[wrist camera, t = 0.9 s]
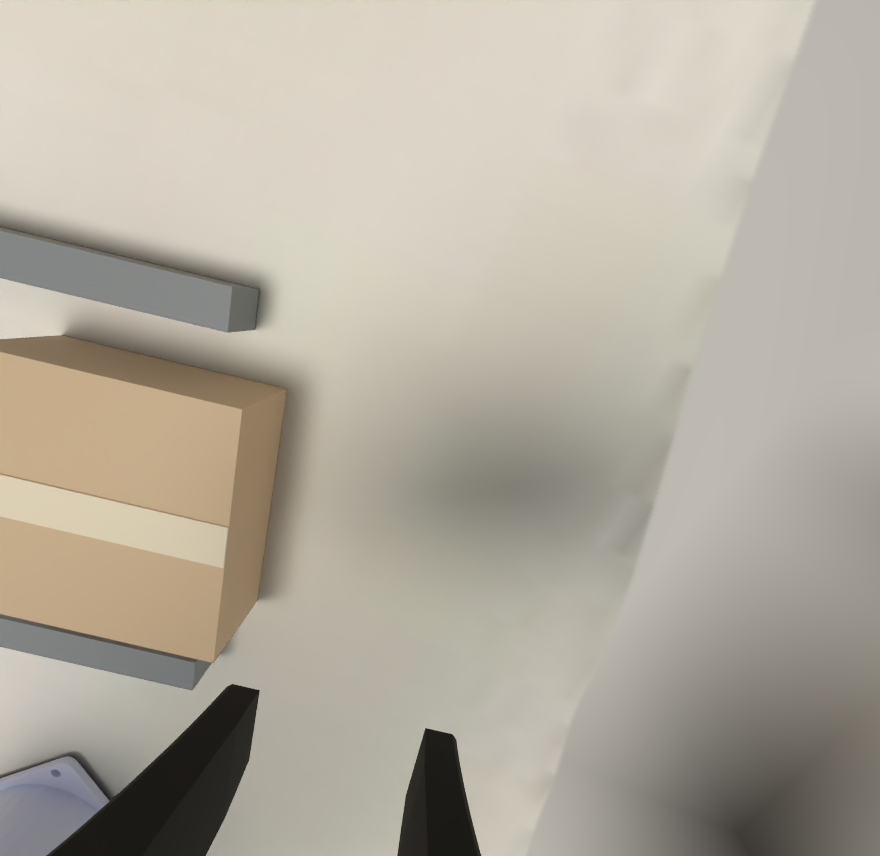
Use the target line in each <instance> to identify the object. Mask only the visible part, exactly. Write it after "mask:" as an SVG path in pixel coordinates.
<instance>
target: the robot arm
mask: <svg viewBox="0 0 880 856" xmlns="http://www.w3.org/2000/svg"><path fill="white" fill-rule="evenodd" d="M259 691H260V690H256V689H251V688H247V687H243V686H238V685H234V684H232V685H230V686H228V687H226V688H225V689H224V691H223V692H222V693H221V694H220V695H219V696H218V697H217V698H216V699H215V700H214V701H213V702H212V704H211V705H210V706H209V707H208V708H207V709H206V710H205V711H204V712H203V713H202V714H201V715H200V716H199V717H198V718H197V719H196V720H195V721H194V722H193V723H192V724H191V725H190V726H189V727H188V728H187V729H186V730H185V731H184V732H183V733H182V734H181V735H180V736H179V737H178V738H177V739H176V740H175V741H174V742H173V743H172V744H171V745H170V746H169V747H168V748H167V749H166V750H165V751H164V752H163V753H162V754H161V755H159V756H158V757H157V758H156V759H155V760H154V761H153V762H152V763H151V764H150V765H149V766H148V767H147V768H146V769H145V770H144V771H143V772H141V773H140V774H139V775H138V776H137V777H136V778H135V779H134V780H133V781H132V782H131V783H130V784H129V785H128V786H126V787H125V788H124V789H123V790H122V791H121V792H120V793H119V794H117V795H116V796H115V797H114V798H113V799H112V800H111V801H109V800H108V798H107V797H106V796H105V795H104V793H103V792H102V791H101V790H100V789H99V787H98V786H97V785H96V784H95V782H94V781H93V780H92V779H91V777H90V776H89V775H88V774H87V773H86V771H85V770H84V769H83V768H82V766H81V765H80V764H79V763H78V761H77V760H75V759H74V758H72V757H68V756H67V757H62V758H59V759H56V760H53V761H50V762H48V763H45V764H42V765H39V766H36V767H33V768H30V769H27V770H24V771H21V772H18V773H15V774H12V775H9V776H6V777H3V778H0V856H206V854H207V852H208V850H209V848H210V846H211V844H212V842H213V840H214V838H215V836H216V834H217V832H218V830H219V828H220V826H221V824H222V822H223V820H224V818H225V816H226V814H227V811H228V809H229V807H230V804H231V802H232V800H233V797H234V795H235V793H236V790H237V788H238V785H239V783H240V780H241V778H242V776H243V773H244V771H245V768H246V766H247V764H248V761H249V757H250V750H251V743H252V737H253V730H254V724H255V717H256V710H257V704H258V697H259ZM398 856H481V854H480V850H479V846H478V842H477V839H476V835H475V831H474V827H473V823H472V819H471V815H470V811H469V806H468V802H467V797H466V793H465V788H464V783H463V778H462V773H461V768H460V762H459V756H458V750H457V742H456V739H455V737H454V736H453V734H448V733H444V732H440V731H435V730H431V729H426V728H425V732H424V735H423V739H422V742H421V746H420V749H419V752H418V756H417V759H416V763H415V766H414V770H413V773H412V777H411V780H410V784H409V787H408V790H407V794H406V799H405V806H404V813H403V820H402V827H401V834H400V841H399V849H398Z"/></svg>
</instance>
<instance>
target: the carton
mask: <svg viewBox="0 0 880 856" xmlns="http://www.w3.org/2000/svg"><path fill="white" fill-rule="evenodd" d="M286 394H287V389H285V388H281V387H276V386H272V385H268V384H264V383H260V382H256V381H251V380H247V379H243V378H239V377H235V376H230V375H226V374H222V373H218V372H214V371H209V370H205V369H201V368H197V367H193V366H189V365H184V364H180V363H176V362H172V361H168V360H163V359H159V358H155V357H151V356H147V355H142V354H138V353H134V352H130V351H126V350H121V349H117V348H113V347H109V346H105V345H101V344H96V343H92V342H88V341H84V340H80V339H75V338H71V337H67V336H63V335H61V336H45V337H30V338H14V339H0V614H3V615H7V616H11V617H16V618H20V619H24V620H29V621H33V622H37V623H42V624H46V625H50V626H55V627H59V628H63V629H68V630H72V631H76V632H81V633H85V634H90V635H94V636H98V637H103V638H107V639H111V640H116V641H120V642H124V643H129V644H133V645H137V646H142V647H146V648H150V649H155V650H159V651H163V652H168V653H172V654H176V655H181V656H185V657H190V658H194V659H198V660H203V661H207V662H211V663H214V661H215V660H216V659H217V657H218V656H219V654H220V653H221V651H222V650H223V649H224V647H225V646H226V644H227V643H228V642H229V640H230V639H231V637H232V636H233V634H234V633H235V632H236V630H237V629H238V627H239V626H240V624H241V623H242V622H243V620H244V619H245V617H246V616H247V615H248V613H249V612H250V610H251V609H252V607H253V606H254V605H255V603H256V602H257V600H258V594H259V587H260V580H261V573H262V565H263V558H264V551H265V544H266V537H267V530H268V523H269V515H270V508H271V501H272V494H273V487H274V480H275V473H276V465H277V458H278V451H279V444H280V437H281V430H282V423H283V416H284V408H285V401H286Z"/></svg>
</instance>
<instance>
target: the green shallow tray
mask: <svg viewBox="0 0 880 856" xmlns="http://www.w3.org/2000/svg"><path fill="white" fill-rule="evenodd" d="M0 278H3V279H7V280H11V281H15V282H19V283H24V284H28V285H32V286H36V287H40V288H44V289H49V290H53V291H57V292H61V293H65V294H69V295H74V296H78V297H82V298H86V299H90V300H94V301H99V302H103V303H107V304H111V305H115V306H119V307H124V308H128V309H132V310H136V311H140V312H144V313H149V314H153V315H157V316H161V317H165V318H169V319H174V320H178V321H182V322H186V323H190V324H194V325H199V326H203V327H207V328H211V329H215V330H219V331H224V332H237V331H247V330H255V323H256V315H257V306H258V297H259V289H255V288H251V287H247V286H243V285H239V284H235V283H231V282H226V281H222V280H218V279H214V278H210V277H206V276H202V275H197V274H193V273H189V272H185V271H181V270H177V269H173V268H168V267H164V266H160V265H156V264H152V263H148V262H144V261H139V260H135V259H131V258H127V257H123V256H119V255H115V254H110V253H106V252H102V251H98V250H94V249H90V248H86V247H82V246H77V245H73V244H69V243H65V242H61V241H57V240H53V239H48V238H44V237H40V236H36V235H32V234H28V233H24V232H19V231H15V230H11V229H7V228H3V227H0ZM0 647H4V648H8V649H13V650H17V651H21V652H26V653H30V654H35V655H39V656H43V657H48V658H52V659H57V660H61V661H65V662H70V663H74V664H78V665H83V666H87V667H92V668H96V669H100V670H105V671H109V672H114V673H118V674H122V675H127V676H131V677H136V678H140V679H144V680H149V681H153V682H158V683H162V684H166V685H171V686H175V687H179V688H184V689H188V690H193V689H194V687H195V686H196V685H197V683H198V682H199V680H200V679H201V677H202V676H203V675H204V673H205V672H206V670H207V669H208V668H209V666H210V665H211V662H207V661H203V660H198V659H194V658H190V657H185V656H181V655H176V654H172V653H168V652H163V651H159V650H155V649H150V648H146V647H142V646H137V645H133V644H129V643H124V642H120V641H116V640H111V639H107V638H103V637H98V636H94V635H90V634H85V633H81V632H76V631H72V630H68V629H63V628H59V627H55V626H50V625H46V624H42V623H37V622H33V621H29V620H24V619H20V618H16V617H11V616H7V615H3V614H0Z"/></svg>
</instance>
